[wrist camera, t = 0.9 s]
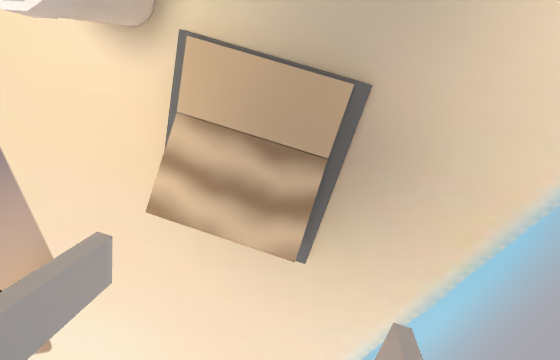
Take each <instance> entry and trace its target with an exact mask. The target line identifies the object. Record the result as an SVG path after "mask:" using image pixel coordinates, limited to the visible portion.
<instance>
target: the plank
mask: <svg viewBox="0 0 560 360" xmlns="http://www.w3.org/2000/svg"><path fill="white" fill-rule="evenodd" d="M327 160H328V159H325V158H322V157H319V156H315V155H312V154H309V153H306V152H303V151H299V150H296V149H293V148H290V147H286V146H283V145H280V144H277V143H274V142H270V141H267V140H264V139H261V138H257V137H254V136H251V135H248V134H245V133H241V132H238V131H235V130H232V129H228V128H225V127H222V126H219V125H216V124H212V123H209V122H206V121H203V120H199V119H196V118H193V117H190V116H187V115H183V114H180V113H176V116H175V120H174V123H173V126H172V129H171V132H170V136H169V139H168V142H167V145H166V148H165V152H164V155H163V158H162V161H161V164H160V168H159V171H158V174H157V177H156V180H155V184H154V187H153V190H152V193H151V196H150V199H149V203H148V206H147V209H146V212H147V213H150V214H153V215H156V216H159V217H162V218H165V219H167V220H170V221H173V222H176V223H179V224H182V225H185V226H188V227H191V228H194V229H197V230H200V231H203V232H206V233H209V234H212V235H215V236H218V237H221V238H224V239H227V240H230V241H233V242H236V243H239V244H242V245H245V246H248V247H251V248H254V249H257V250H260V251H263V252H266V253H269V254H272V255H275V256H278V257H281V258H284V259H287V260H290V261H293V262H295V261H296V257H297V254H298V251H299V248H300V245H301V242H302V239H303V235H304V232H305V229H306V226H307V223H308V220H309V217H310V214H311V210H312V207H313V204H314V201H315V198H316V195H317V192H318V188H319V185H320V182H321V179H322V176H323V173H324V170H325V167H326V163H327Z"/></svg>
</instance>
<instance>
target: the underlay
mask: <svg viewBox="0 0 560 360" xmlns="http://www.w3.org/2000/svg"><path fill="white" fill-rule="evenodd" d="M371 87H372V85H370V84H366V83H363V82H359V81H356V80H352V79H349V78H346V77H342V76H339V75H335V74H332V73H328V72H325V71H322V70H318V69H315V68H311V67H308V66H304V65H301V64H297V63H294V62H291V61H287V60H284V59H280V58H277V57H273V56H270V55H267V54H263V53H260V52H256V51H253V50H249V49H246V48H242V47H239V46H236V45H232V44H229V43H225V42H222V41H218V40H215V39H212V38H208V37H205V36H201V35H198V34H194V33H191V32H187V31H184V30H181V29H179V36H178V45H177V53H176V61H175V69H174V77H173V86H172V94H171V102H170V110H169V118H168V126H167V135H166V143H165V148H166V145H167V142H168V139H169V136H170V132H171V129H172V126H173V123H174V120H175V116H176V113H180V114H183V115H187V116H190V117H193V118H196V119H199V120H203V121H206V122H209V123H212V124H216V125H219V126H222V127H225V128H228V129H232V130H235V131H238V132H241V133H245V134H248V135H251V136H254V137H257V138H261V139H264V140H267V141H270V142H274V143H277V144H280V145H283V146H286V147H290V148H293V149H296V150H299V151H303V152H306V153H309V154H312V155H315V156H319V157H322V158H325V159H328V160H327V163H326V167H325V170H324V173H323V176H322V179H321V182H320V185H319V188H318V192H317V195H316V198H315V201H314V204H313V207H312V210H311V214H310V217H309V220H308V223H307V226H306V229H305V232H304V235H303V239H302V242H301V245H300V248H299V251H298V254H297V257H296V261H298V262H301V263H304V264H305V263H306V260H307V257H308V255H309V252H310V249H311V247H312V244H313V241H314V239H315V236H316V233H317V231H318V228H319V225H320V223H321V220H322V217H323V215H324V212H325V209H326V207H327V204H328V202H329V199H330V196H331V194H332V191H333V188H334V186H335V183H336V180H337V178H338V175H339V172H340V170H341V167H342V164H343V162H344V159H345V156H346V154H347V151H348V148H349V146H350V143H351V141H352V138H353V135H354V133H355V130H356V127H357V125H358V122H359V119H360V117H361V114H362V111H363V109H364V106H365V103H366V101H367V98H368V95H369V93H370V90H371ZM164 152H165V151H164Z"/></svg>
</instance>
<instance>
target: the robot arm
mask: <svg viewBox="0 0 560 360" xmlns="http://www.w3.org/2000/svg"><path fill="white" fill-rule="evenodd" d="M111 283H112V236H110V235H106V234H103V233H100V232H96V233H94V234H93V235H91V236H90V237H88V238H86V239H85V240H83V241H82V242H80V243H78V244H77V245H75V246H74V247H72V248H70V249H69V250H67V251H66V252H64V253H62V254H61V255H59V256H58V257H56V258H54V259H53V260H51V261H50V262H48V263H46V264H45V265H43V266H42V267H40V268H38V269H37V270H35V271H34V272H32V273H30V274H29V275H27V276H26V277H24V278H22V279H21V280H19V281H18V282H16V283H14V284H13V285H11V286H10V287H8V288H7V289H5V290H3V291H1V290H0V360H27V359H28V358H29V357H30V356H32V355H33V354H34V353H35V352H36V351H37V350H38V349H39V348H40V347H41V346H43V345H44V344H45V343H46V342H47V341H48V340H49V339H50V338H51V337H52V336H54V335H55V334H56V333H57V332H58V331H59V330H60V329H61V328H62V327H64V326H65V325H66V324H67V323H68V322H69V321H70V320H71V319H72V318H73V317H75V316H76V315H77V314H78V313H79V312H80V311H81V310H82V309H83V308H84V307H86V306H87V305H88V304H89V303H90V302H91V301H92V300H93V299H94V298H95V297H97V296H98V295H99V294H100V293H101V292H102V291H103V290H104V289H105V288H107V287H108V286H109V285H110V284H111ZM375 360H423V359H422V356H421V353H420V351H419V348H418V345H417V342H416V340H415V337H414V334H413V331H412V329H411V328H409V327H406V326H402V325H399V324H396V323H393V325H392V327H391V329H390V331H389V333H388V335H387V337H386V339H385V341H384V343H383V345H382V346H381V348H380V351H379V352H378V354H377V356H376V358H375Z"/></svg>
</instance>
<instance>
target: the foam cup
mask: <svg viewBox="0 0 560 360" xmlns="http://www.w3.org/2000/svg"><path fill="white" fill-rule="evenodd" d="M153 8H154V0H0V9H2V10H6V11H10V12H14V13H18V14H22V15H26V16H30V17H35V18H52V19H57V18H65V19H74V20H82V21H91V22H99V23H108V24H116V25H126V26H139V25H140V24H142V23H144V22H146V21H147V20H148V18H149V16H150V15H151V13H152V11H153Z"/></svg>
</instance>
